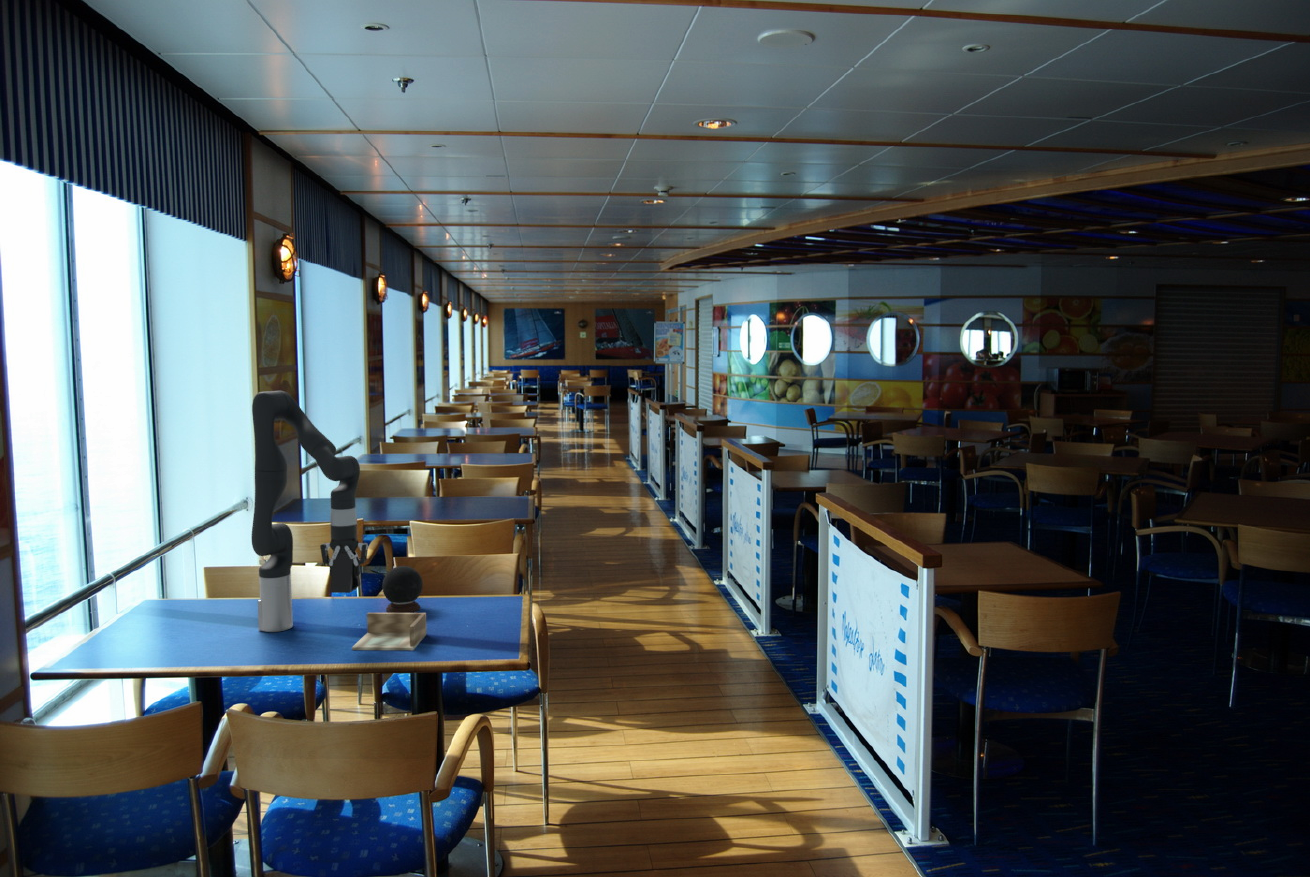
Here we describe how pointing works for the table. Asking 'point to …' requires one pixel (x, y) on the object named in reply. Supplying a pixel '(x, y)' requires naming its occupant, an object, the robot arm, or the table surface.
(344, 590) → the phone stand
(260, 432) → the robot arm
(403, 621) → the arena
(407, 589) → the stone ball on stand
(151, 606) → the table surface
